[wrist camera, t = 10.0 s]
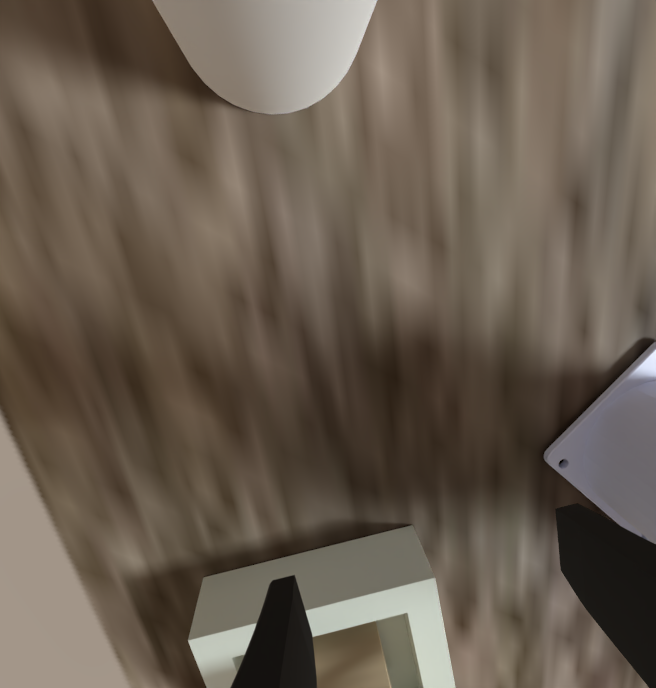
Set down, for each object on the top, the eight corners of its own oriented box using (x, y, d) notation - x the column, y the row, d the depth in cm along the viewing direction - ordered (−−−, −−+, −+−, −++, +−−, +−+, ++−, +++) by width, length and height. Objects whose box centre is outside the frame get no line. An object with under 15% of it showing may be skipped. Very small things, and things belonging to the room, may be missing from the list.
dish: (412, 525, 22) (434, 577, 19) (443, 680, 25) (467, 750, 22) (203, 577, 22) (187, 640, 19) (258, 729, 25) (254, 807, 21)
